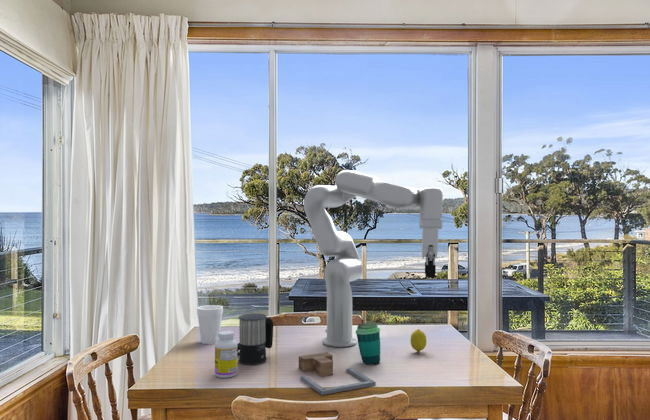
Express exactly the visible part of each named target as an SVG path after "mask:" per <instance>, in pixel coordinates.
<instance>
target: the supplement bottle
mask: <svg viewBox="0 0 650 420" xmlns="http://www.w3.org/2000/svg"><path fill="white" fill-rule="evenodd" d="M218 337H219V340H218V341H217V342H216V343H215V344H214V374H215V375H214V376H216V377H217V378H220V379H228V378H233V377H235V376H236V375H238V356H237V343H238V341H237V340H235V339H234V338H235V331H233V330H220V332H219V333H218Z"/></svg>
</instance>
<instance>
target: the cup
mask: <svg viewBox="0 0 650 420" xmlns="http://www.w3.org/2000/svg"><path fill="white" fill-rule="evenodd" d="M380 332H381V328H380V327H379V326H378V324H376V323H370V322H369V323H368V322H367V323H366V322H365V323H359V324H358V325H357V327H356V330H355V334H356V338H357V339H356V340H357V345H358V350H359V354H360V357H361V363H362V364H364V365H367V366H368V365H369V366H375V365H379V364H380V362H381V338H380V335H381V334H380Z"/></svg>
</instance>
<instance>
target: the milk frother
mask: <svg viewBox="0 0 650 420" xmlns="http://www.w3.org/2000/svg"><path fill="white" fill-rule="evenodd" d="M238 319H239V320H238V321H239V322H238V323H239V329H238V330H239V342H237V357H238V359H237V362H238V363H240V364H242V365H249V366H250V365H252V366H253V365H260V364H262V363H263V364H264V363H265V362H266V361H267V352H266V350H267V349H272V348H273V343H274V342H273V340H274V321H273V320H272V319H271V317H268V316H267V315H266V314H263V313H254V312H253V313H245V314H241V315H239V316H238ZM266 348H267V349H266Z"/></svg>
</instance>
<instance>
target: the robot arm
mask: <svg viewBox="0 0 650 420" xmlns="http://www.w3.org/2000/svg"><path fill="white" fill-rule="evenodd" d="M334 183H335V185H328V184H327V185H325V184H318V185H314V186H312V187H311V188H310V189H309V190H308V191H307V192H306V194H305V196H304V200H303V209H304V213H305V215H306V218H307V220H308V223H309V224H310V227H311V231H312V233H313V235H314V238H315V242H316V243H317V247H318V250H319V251H320V253H321V254H322V255H323V256H325V257H336V258H334V259H331V260H330V261H328V263H326V266H325V267H324V279H325V280H324V281H325V288H326V329H325V333H326V336H325V337H324V338H323V339H322V344H323V345H325V346H328V347H332V348H333V347H335V348H344V347H345V348H348V347H353V346H355V345H356V344H357V339H356V338H355V337H354V336H353V292H352V291H353V290H352V287H351V284H350V282H355V281H357V280H359V279H360V278H361V276H362V274H363V263H362V260H361V257H360V255H359V252H358V249H357V248H356V245H355V243H354V240H353V238H352V236H351V235H349V233H347V232H345V231H343V230H337V229H336V227H335V224H334V221H333V219H332V216H331V215H330V214H329V213H328V211H327V210H326V208H331V209H332V208H339V207H341V206H344V204H346V203H348V202H349V201H351V200H352V199H354V198H357V197H360V198H362V199H367V200H369V201H372V202H376V203H379V204H382V205H385V206H389V207H392V208H396V209H399V210H418V209H419V224H418V225H419V226H418V227H419V229H420V230H421V229H422V232H421V259H425V262H424V273H425V275H424V276H425V277H426V278H436V268H437V267H436V259H437V258H438V251H439V249H438V248H439V230H442V229H443V206H444V205H443V196H444V194H443V189H441V188H440V187H423V188H418V187H411V186H402V185H397V184H394V183H390V182H386V181H383V180H381V179H380V177H377V176H374V175H370V174H365V173H362V172H360V171H357V170H350V169H345V170H344V169H343V170H341V171H340V172H338V173H337V175H336V176H335V180H334Z"/></svg>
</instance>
